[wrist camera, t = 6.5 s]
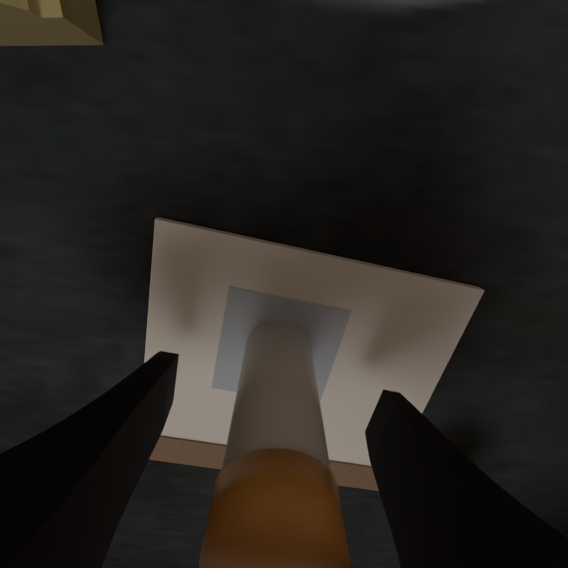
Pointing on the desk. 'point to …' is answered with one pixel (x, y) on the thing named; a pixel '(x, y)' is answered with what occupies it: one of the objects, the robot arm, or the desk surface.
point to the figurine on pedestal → (49, 23)
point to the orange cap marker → (276, 465)
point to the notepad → (304, 314)
